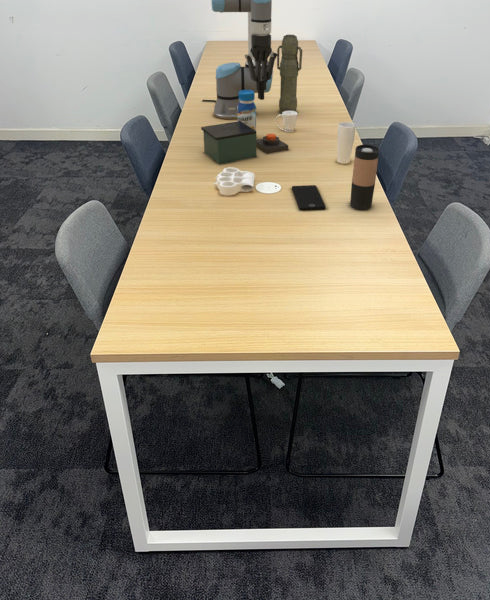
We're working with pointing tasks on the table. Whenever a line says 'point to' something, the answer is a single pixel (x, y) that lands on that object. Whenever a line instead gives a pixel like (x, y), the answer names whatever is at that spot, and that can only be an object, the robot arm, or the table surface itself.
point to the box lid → (228, 130)
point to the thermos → (289, 72)
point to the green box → (230, 148)
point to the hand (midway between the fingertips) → (261, 98)
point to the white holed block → (234, 181)
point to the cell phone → (308, 197)
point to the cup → (288, 120)
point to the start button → (271, 137)
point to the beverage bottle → (247, 108)
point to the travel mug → (364, 176)
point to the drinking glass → (345, 141)
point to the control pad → (271, 145)
